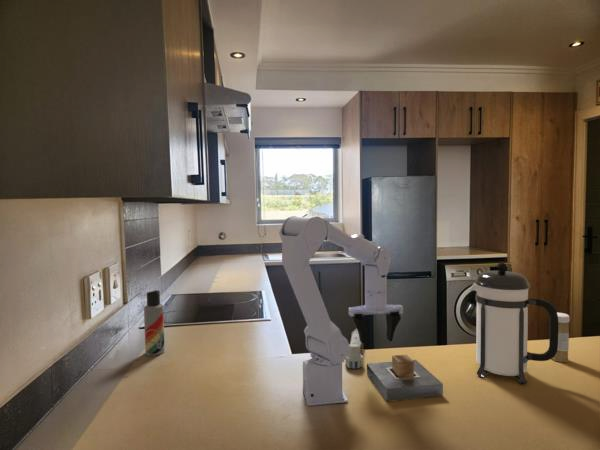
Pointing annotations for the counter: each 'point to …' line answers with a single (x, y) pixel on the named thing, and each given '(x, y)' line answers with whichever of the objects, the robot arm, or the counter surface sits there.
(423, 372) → the grey socket base
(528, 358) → the coffee press
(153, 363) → the counter surface
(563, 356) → the sprinkles bottle
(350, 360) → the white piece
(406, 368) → the oak peg
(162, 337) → the lotion bottle
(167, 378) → the counter surface
